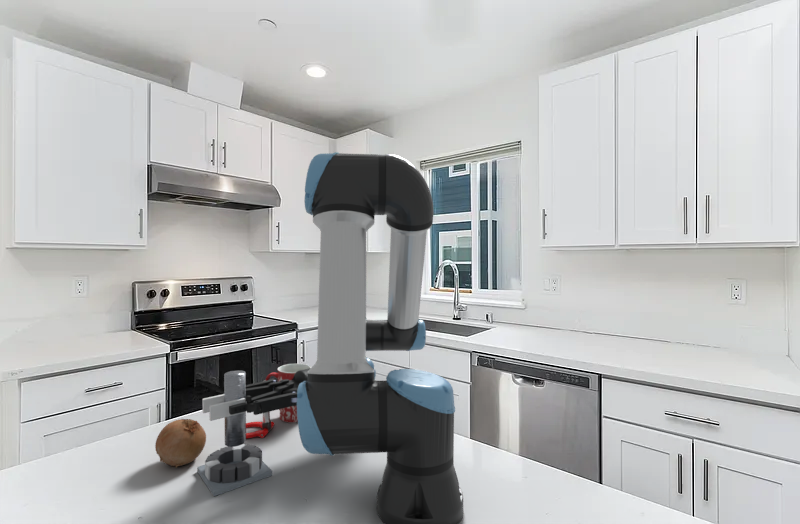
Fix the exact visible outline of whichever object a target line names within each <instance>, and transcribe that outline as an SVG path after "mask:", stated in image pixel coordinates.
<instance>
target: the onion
mask: <svg viewBox="0 0 800 524" xmlns="http://www.w3.org/2000/svg"><path fill="white" fill-rule="evenodd" d="M206 442H207V434H206V431H205V429H204V428H203V427H202V425H201V424H200V423H199V422H198V421H197V420H194V419H191V418H185V419H184V418H181V419H176V420H174V421H171V422H169V423H167V424H166V425H165V426H164V427H163V428H161V431H160V432H159V434H158V436H157V437H156V439H155V445H154V447H155V451H156V452H155V453H156V454H157V455H158V457H159V463H164V464H166V465H168V466H171V467H175V468H178V467H181V466H184V465H187V464H188V465H189V464H190V463H192V462H193V461H195V460H196V459H197V458H199V456H200V455H201V454H202V453H203V450H204V448H205V447H206V446H205V445H206Z"/></svg>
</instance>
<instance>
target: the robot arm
mask: <svg viewBox="0 0 800 524" xmlns="http://www.w3.org/2000/svg"><path fill="white" fill-rule="evenodd" d="M304 183H305V184H304V185H305V186H304V210H305V211H306V214H309V215H311V216H312V223H313V224H314V225H315V226H316V227H317V229H319V231H320V247H319V249H320V250H319V277H318V280H319V282H318V314H317V342H316V343H317V349H316V361H315V363H314V364H313V365H312V366H311V368H309V369H304V370H299V371H297V372H296V373H295V375H294V377H293V379H292V380H289V379H285V380H281V381H279V382H278V378H276V377H273V378H270V379H269V380H267V381H264V380H263V381H258V382H254V383H249V384H246V402H245V398H241V399H237V400H232V401H228V402H224V393H223V394H218V395H214V396H209V397H204V398H202V403H201V404H202V413H203V414H206V413H209V421H210V422H213V421H215V420H220V419H225V417H229V416H233V415H237V414H241V413H245V411H246V414H249V413H250V414H251V413H253V414H252V415H254V416H257V415H263V413H266V412H270V413H271V412H273V411H279V409H282V408H286V407H291V406H297V419H298V422H297V426H298V433H299V437H300V441H301V444H302V446H303V448H304V450H306V453H310V454H312V455H329V456H335V455H346V454H347V455H348V454H351V455H352V454H373V453H374V454H376V453H377V454H378V453H386V465H385V468H384V471H383V475H382V479H381V482H380V485H379V486H378V489H377V492H376V512H377V513H376V514H377V515H378V518H379V519H380V520H381V521H382V523H383V524H459V523H460V522H461V520H462V518H463V515H464V495H463V491H462V488H461V487H460V483H459V479H458V474H457V472H456V468H455V466H454V457H455V456H454V454H455V453H454V452H455V449H454V447H455V446H454V445H455V444H454V443H455V442H454V441H455V436H454V435H455V412H456V407H455V396H454V394H455V393H454V389H453V386H452V383H450V382H449V381H448V380H447V379H446V378H444V377H442V376H441V375H439V374H436V373H434V372H430V371H426V370H421V369H413V368H400V369H393V370H391V371H389V372H388V373H387V375H386V380H375V379H376V377H377V373H376V372H377V371H376V369H375V364H374V362H373V361H372V359H370V358H369V357H367V352H383V351H385V352H387V351H388V352H391V351H394V352H395V351H397V352H400V351H406V352H409V351H420V350H423V349H424V348H425V346H426V338H427V331H426V330H427V328H426V323H425V320H423V319H419V316H420V307H421V297H422V296H421V295H422V287H423V286H422V285H423V276H424V264H425V254H426V253H425V252H426V245H427V244H426V243H427V234H428V230H429V229H431V227H432V226H433V222H434V214H435V213H434V212H435V210H434V202H433V197H432V194H431V189H430V188H429V185H428V182H426V179H425V178H424V176H423V175H422V174H421V172H420V171H419V170H418V169H417V167H416V166H414V164H412V163H411V162H410V161H409V160H407V159H406V158H403V157H401V156H400V155H396V154H389V153H388V154H386V153H385V154H369V153H343V152H341V153H340V152H338V151H335V152H332V153H331V152H330V153H318V154H316V155H314V156H313V158H312V159H311V160H310V162H309V165H308V168H307V172H306V178H305V182H304ZM375 216H386V218H385V219H386V224H387V226H388V227H389V228H390V239H389V240H390V243H389V245H390V246H389V269H388V273H389V274H388V292H387V293H388V294H387V295H388V297H387V317H386V318H387V319H367V232H368V231H369V230H370V229H371V228H372V227H373V226H374V225H375Z"/></svg>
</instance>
